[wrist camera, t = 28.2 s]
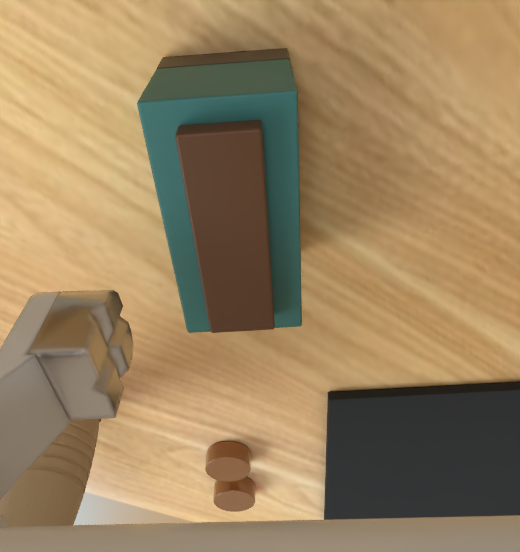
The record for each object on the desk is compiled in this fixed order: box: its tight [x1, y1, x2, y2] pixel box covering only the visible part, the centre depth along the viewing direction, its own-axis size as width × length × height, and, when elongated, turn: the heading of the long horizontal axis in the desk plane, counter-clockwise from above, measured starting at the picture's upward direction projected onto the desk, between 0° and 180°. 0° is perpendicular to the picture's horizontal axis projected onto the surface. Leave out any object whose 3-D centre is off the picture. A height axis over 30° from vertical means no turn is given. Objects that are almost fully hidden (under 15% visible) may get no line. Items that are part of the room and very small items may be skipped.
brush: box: [137, 48, 302, 333], centre depth 18 cm, size 4×9×6 cm, turn 4°
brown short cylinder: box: [206, 441, 251, 482], centre depth 32 cm, size 3×3×1 cm
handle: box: [0, 419, 101, 527], centre depth 23 cm, size 5×6×15 cm
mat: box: [324, 382, 520, 520], centre depth 33 cm, size 24×16×1 cm, turn 94°
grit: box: [214, 477, 255, 511], centre depth 35 cm, size 3×3×1 cm
